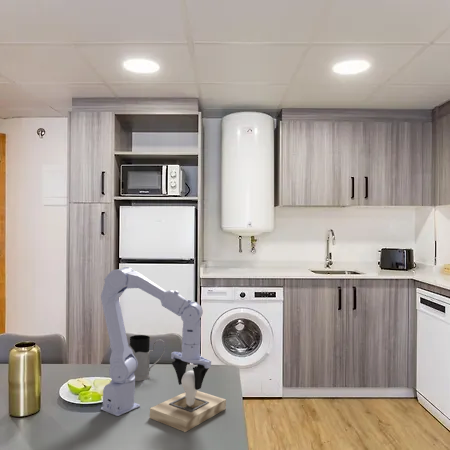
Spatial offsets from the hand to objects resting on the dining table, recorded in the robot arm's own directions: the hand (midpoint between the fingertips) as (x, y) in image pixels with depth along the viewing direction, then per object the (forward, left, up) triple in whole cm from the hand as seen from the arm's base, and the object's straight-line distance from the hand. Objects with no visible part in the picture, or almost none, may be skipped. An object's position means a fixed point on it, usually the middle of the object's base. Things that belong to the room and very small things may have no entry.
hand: (189, 386), depth 133 cm
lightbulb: (+1, 0, -7) cm, 7 cm away
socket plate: (0, 0, -8) cm, 8 cm away
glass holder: (+15, +34, -9) cm, 38 cm away
